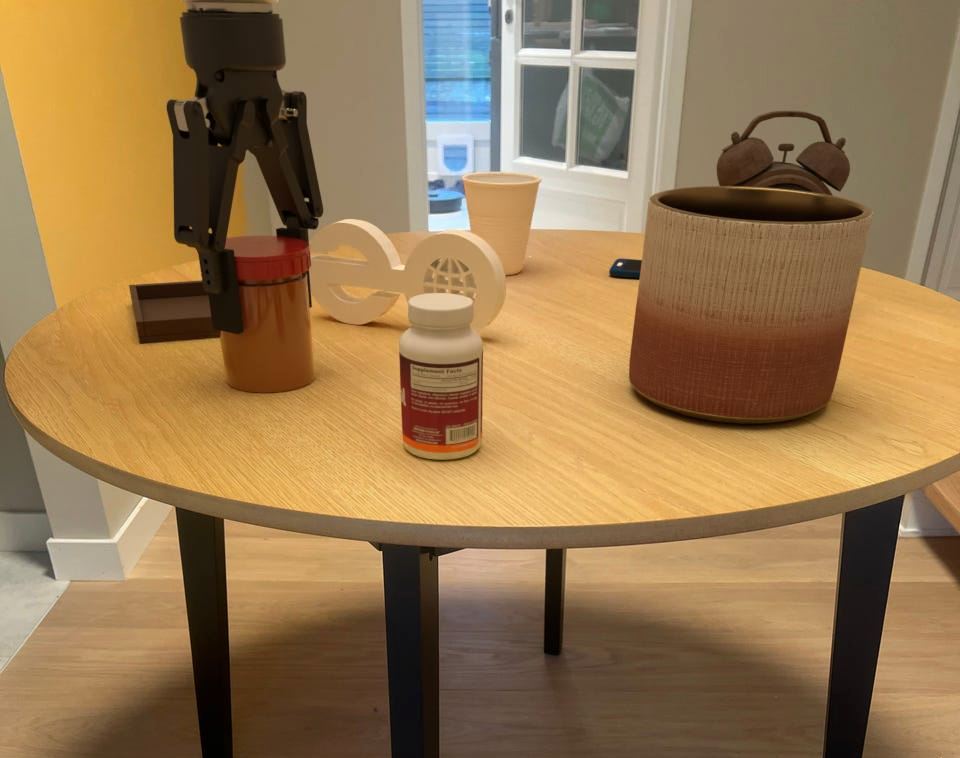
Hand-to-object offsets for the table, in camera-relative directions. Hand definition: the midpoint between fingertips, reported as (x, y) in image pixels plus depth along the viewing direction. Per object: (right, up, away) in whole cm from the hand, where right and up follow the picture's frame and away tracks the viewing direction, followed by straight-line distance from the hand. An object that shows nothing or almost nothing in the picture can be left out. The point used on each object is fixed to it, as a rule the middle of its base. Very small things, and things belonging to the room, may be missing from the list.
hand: (264, 317), depth 83 cm
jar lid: (0, +5, -3) cm, 6 cm away
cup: (+21, +20, +40) cm, 49 cm away
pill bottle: (+16, -13, -10) cm, 23 cm away
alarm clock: (+51, +10, +26) cm, 58 cm away
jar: (0, -4, +3) cm, 5 cm away
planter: (+41, -6, +2) cm, 42 cm away
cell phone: (+43, +19, +39) cm, 61 cm away
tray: (-11, +7, +19) cm, 23 cm away
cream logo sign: (+11, +5, +17) cm, 21 cm away
